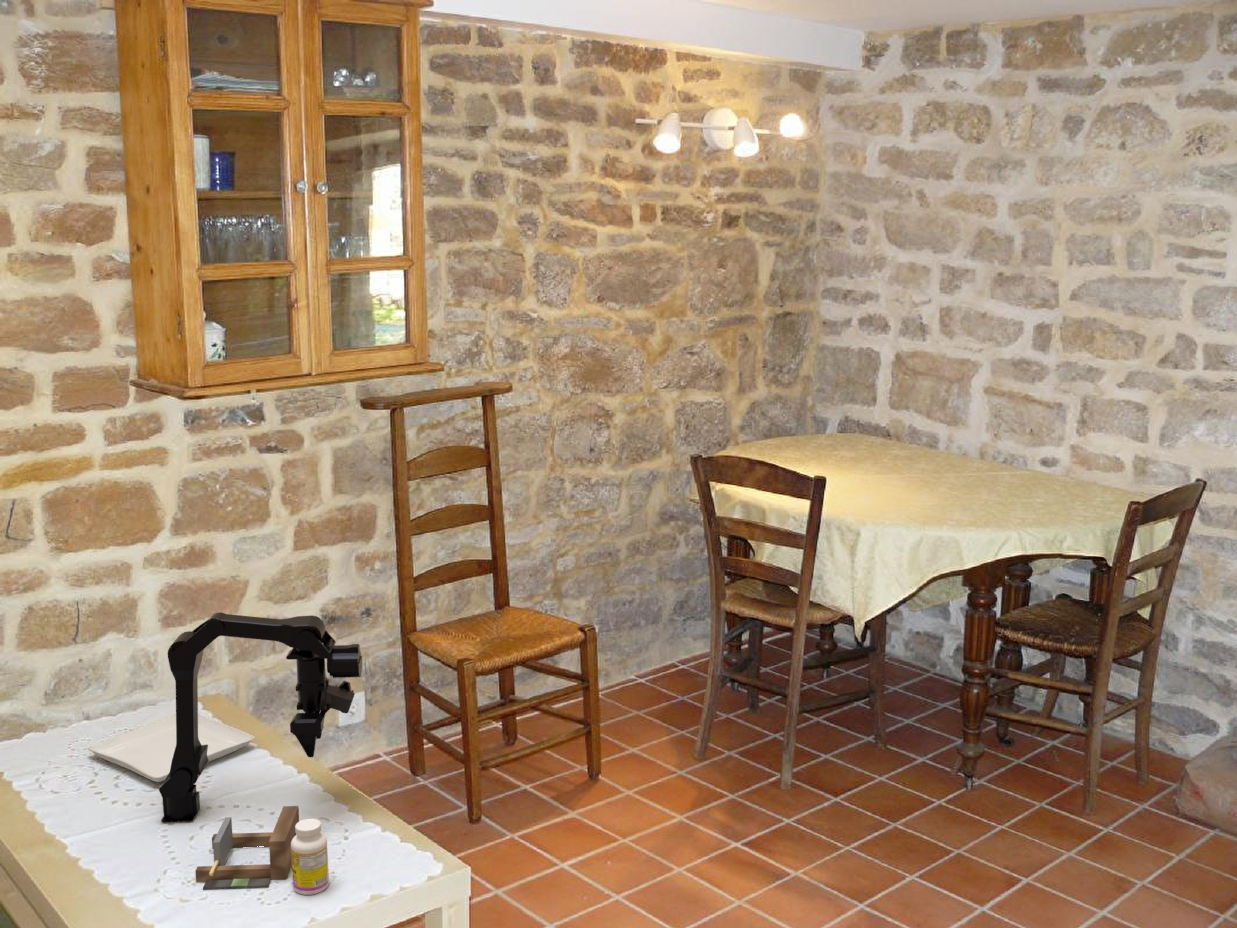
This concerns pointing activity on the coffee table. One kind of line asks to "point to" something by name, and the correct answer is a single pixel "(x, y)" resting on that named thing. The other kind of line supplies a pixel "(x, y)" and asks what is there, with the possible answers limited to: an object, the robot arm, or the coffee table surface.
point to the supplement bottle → (309, 858)
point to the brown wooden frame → (256, 873)
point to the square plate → (166, 745)
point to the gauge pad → (222, 844)
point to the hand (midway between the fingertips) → (314, 747)
